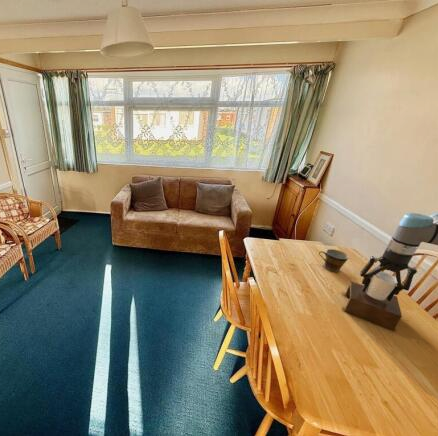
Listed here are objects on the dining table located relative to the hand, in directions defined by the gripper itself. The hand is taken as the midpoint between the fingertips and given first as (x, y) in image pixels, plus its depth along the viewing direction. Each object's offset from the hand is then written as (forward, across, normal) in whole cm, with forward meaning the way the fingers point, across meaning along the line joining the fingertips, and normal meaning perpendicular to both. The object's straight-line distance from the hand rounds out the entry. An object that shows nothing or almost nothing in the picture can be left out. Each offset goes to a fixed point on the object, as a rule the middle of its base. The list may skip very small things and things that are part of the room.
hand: (375, 294), depth 100 cm
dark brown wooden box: (+10, 0, 0) cm, 10 cm away
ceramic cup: (+10, -16, +28) cm, 34 cm away
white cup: (0, 0, 0) cm, 0 cm away
